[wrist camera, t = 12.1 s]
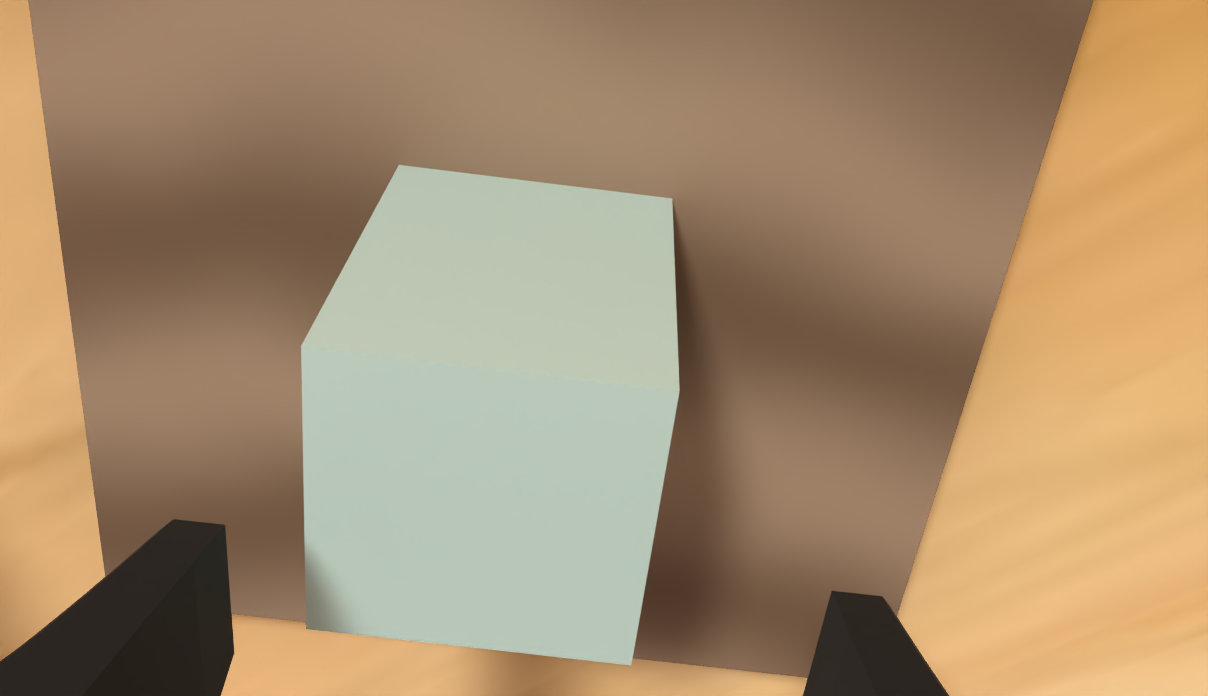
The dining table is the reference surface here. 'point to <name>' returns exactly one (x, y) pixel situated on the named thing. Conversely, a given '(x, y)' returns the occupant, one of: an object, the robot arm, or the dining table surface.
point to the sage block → (491, 417)
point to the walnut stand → (574, 158)
